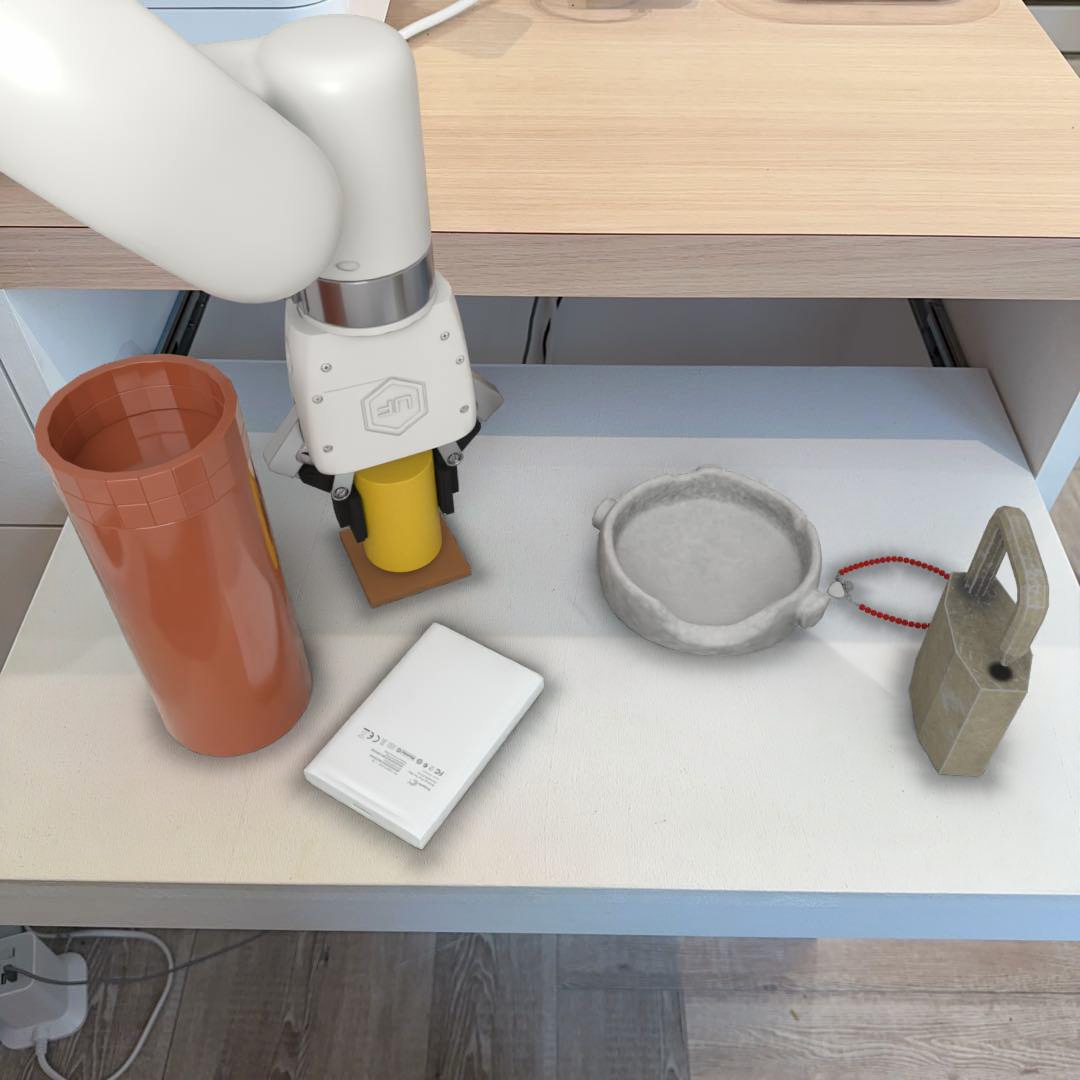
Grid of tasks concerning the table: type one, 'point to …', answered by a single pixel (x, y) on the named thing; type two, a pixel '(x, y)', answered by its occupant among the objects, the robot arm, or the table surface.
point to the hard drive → (425, 733)
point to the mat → (402, 584)
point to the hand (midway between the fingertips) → (398, 512)
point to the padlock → (980, 649)
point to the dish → (709, 562)
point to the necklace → (844, 586)
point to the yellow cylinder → (401, 512)
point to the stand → (181, 545)
